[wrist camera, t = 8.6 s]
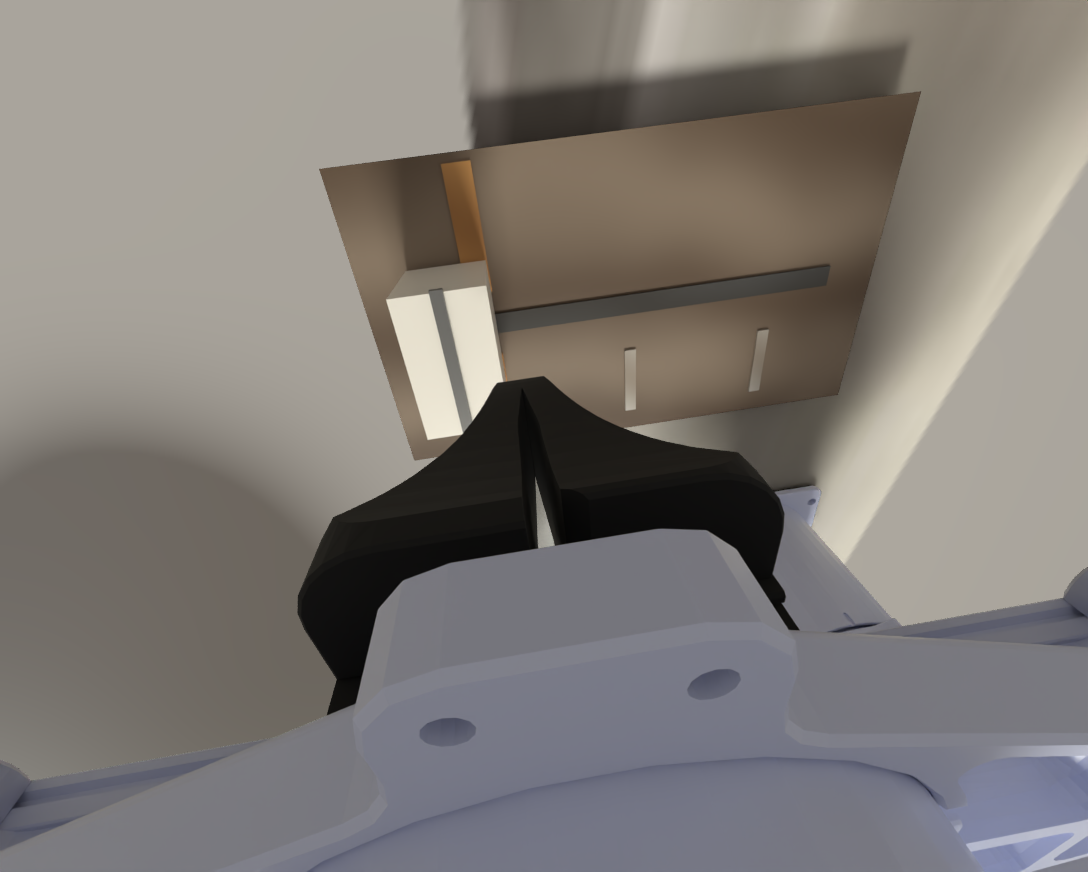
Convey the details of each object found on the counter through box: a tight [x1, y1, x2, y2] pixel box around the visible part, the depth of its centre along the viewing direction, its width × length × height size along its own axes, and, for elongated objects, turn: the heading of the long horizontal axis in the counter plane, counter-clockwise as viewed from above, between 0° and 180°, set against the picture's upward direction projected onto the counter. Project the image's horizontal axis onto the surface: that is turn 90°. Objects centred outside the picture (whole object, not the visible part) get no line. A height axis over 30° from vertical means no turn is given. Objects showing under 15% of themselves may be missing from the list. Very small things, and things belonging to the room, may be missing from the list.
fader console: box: [319, 92, 921, 460], centre depth 19 cm, size 12×21×2 cm, turn 96°
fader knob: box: [386, 260, 506, 440], centre depth 16 cm, size 5×3×4 cm, turn 6°
